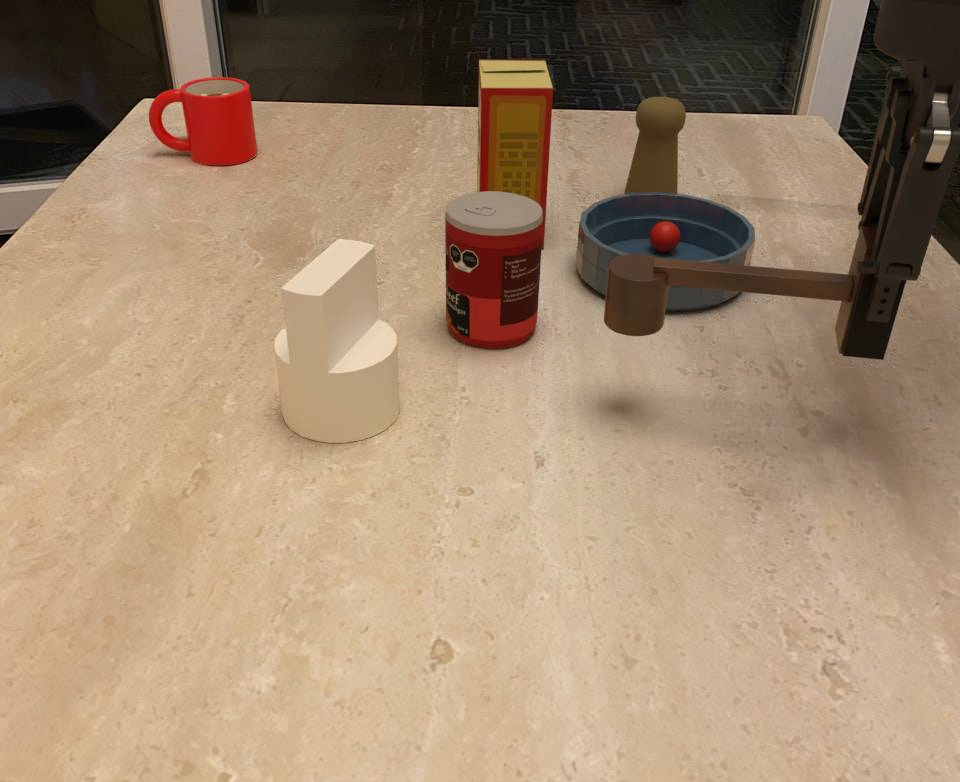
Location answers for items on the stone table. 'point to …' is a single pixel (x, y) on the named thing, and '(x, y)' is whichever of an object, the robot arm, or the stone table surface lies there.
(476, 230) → the canned food
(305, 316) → the base with upright slab
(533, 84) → the baking soda box
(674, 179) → the cork
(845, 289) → the wooden mallet
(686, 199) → the bowl
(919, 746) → the stone table surface
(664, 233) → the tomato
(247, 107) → the mug
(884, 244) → the robot arm
